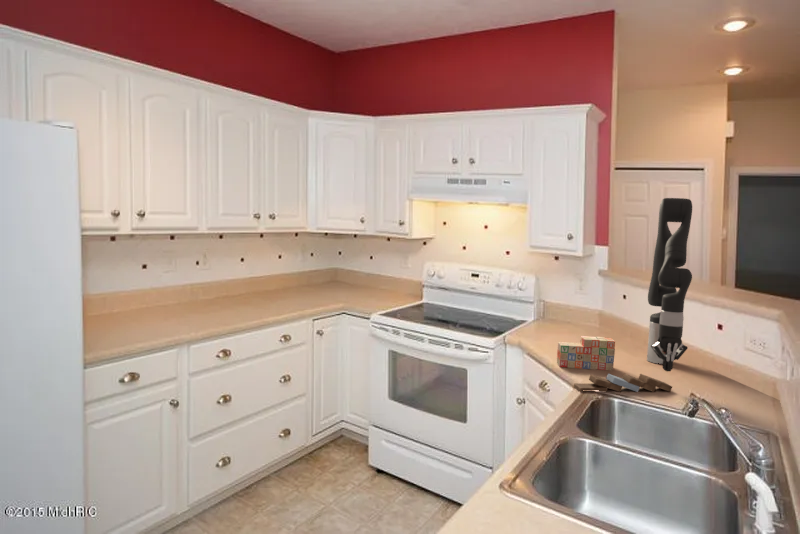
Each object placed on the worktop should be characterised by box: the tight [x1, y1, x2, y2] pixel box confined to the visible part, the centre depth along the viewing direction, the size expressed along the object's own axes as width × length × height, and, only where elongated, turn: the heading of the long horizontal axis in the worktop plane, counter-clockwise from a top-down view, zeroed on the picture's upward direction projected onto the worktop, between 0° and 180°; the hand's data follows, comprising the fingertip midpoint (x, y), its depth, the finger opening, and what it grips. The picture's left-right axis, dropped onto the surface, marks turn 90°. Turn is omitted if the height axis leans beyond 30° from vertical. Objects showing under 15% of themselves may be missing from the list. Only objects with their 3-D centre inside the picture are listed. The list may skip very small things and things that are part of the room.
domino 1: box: [588, 374, 623, 392], centre depth 190 cm, size 2×5×10 cm
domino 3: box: [621, 373, 657, 393], centre depth 190 cm, size 2×5×10 cm
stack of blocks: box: [556, 335, 616, 371], centre depth 218 cm, size 21×6×12 cm, turn 84°
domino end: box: [573, 382, 608, 392], centre depth 189 cm, size 2×5×10 cm
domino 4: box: [637, 373, 673, 392], centre depth 191 cm, size 2×5×10 cm
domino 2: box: [605, 373, 641, 393], centre depth 190 cm, size 2×5×10 cm
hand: (667, 370), depth 191 cm, fingers closed
